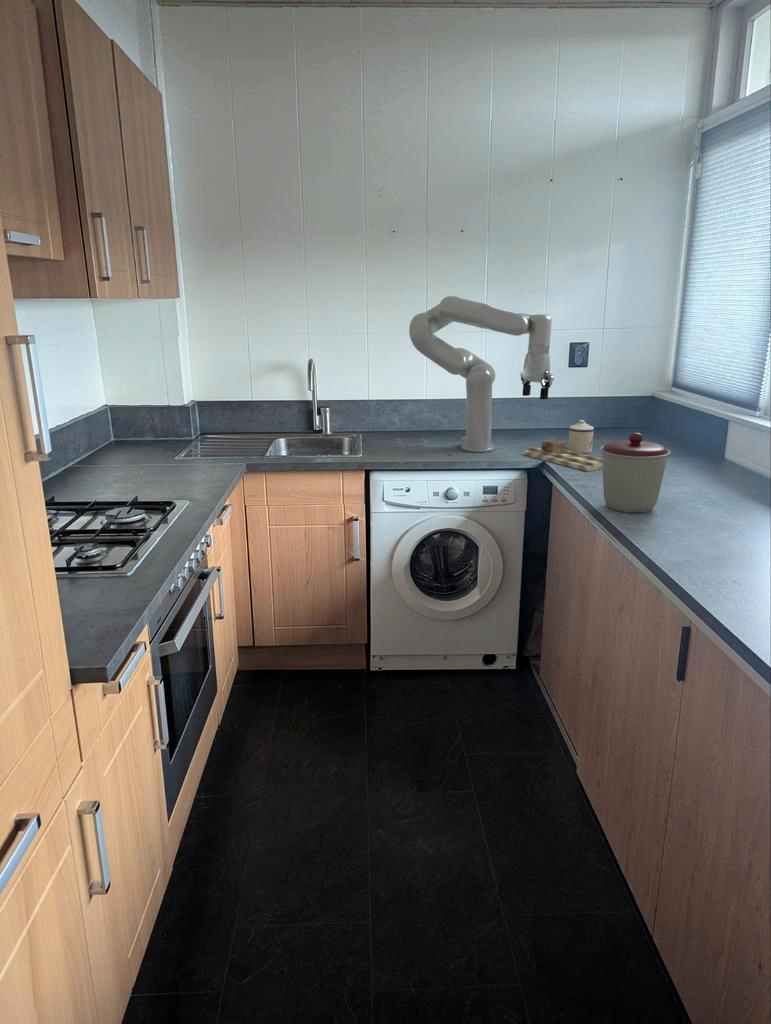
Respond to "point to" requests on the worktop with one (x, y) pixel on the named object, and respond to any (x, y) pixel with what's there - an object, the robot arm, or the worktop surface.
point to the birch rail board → (567, 459)
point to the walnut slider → (554, 446)
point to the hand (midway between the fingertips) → (534, 397)
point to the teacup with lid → (580, 438)
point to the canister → (632, 473)
